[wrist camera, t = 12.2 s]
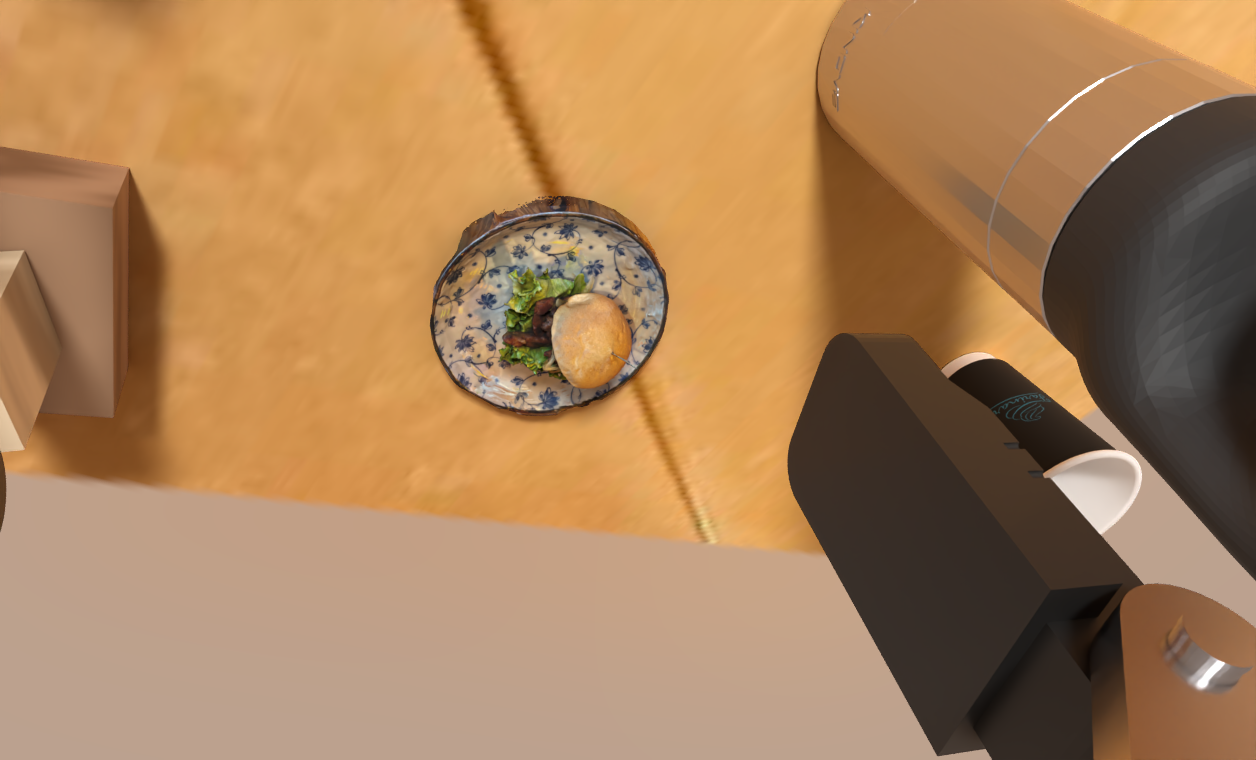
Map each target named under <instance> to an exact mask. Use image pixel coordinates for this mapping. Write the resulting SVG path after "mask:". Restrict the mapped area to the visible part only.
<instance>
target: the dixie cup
mask: <svg viewBox="0 0 1256 760" xmlns="http://www.w3.org/2000/svg"><path fill="white" fill-rule="evenodd" d="M941 371H942V372H943V373H944V375H945V376H946V377H947V378H948V379H949V380H950V381H951V382H953V383H954V384H956V385H957V386H958V387H960V388H961V389H963V390H964V391H966V392H967V393H968V394H970V395H971V396H973V397H974V398H975V399H977V400H978V401H980V402H981V403H983V404H984V405H985V406H987V407H988V408H990V410H991V411H992V412H993V413H994V414H995V415H996V416H997V418H998V419H999V420H1000V421H1001V422H1002V423H1003V424H1004V426H1005V427H1006V428H1007V429H1008V430H1009V431H1010V432H1011V434H1012V435H1013V436H1014V437H1015V438H1016V439H1017V440H1018V442H1019V444H1018V446H1019V449H1026V451H1027V452H1028V453H1029V454H1030V455H1031V456H1032V457H1033V459H1034V460H1035V461H1036V462H1037V463H1038V464H1039V465H1040V467H1041V468H1042V469H1043V470H1044V471H1043V476H1044V478H1051V479H1052V480H1053V481H1054V483H1055V484H1056V485H1057V486H1058V487H1059V488H1060V489H1061V490H1062V492H1063V493H1064V494H1065V495H1066V496H1067V497H1068V498H1069V500H1070V501H1071V502H1072V503H1073V504H1074V505H1075V506H1076V508H1077V509H1078V510H1079V511H1080V512H1081V513H1082V514H1083V516H1084V517H1085V518H1086V519H1087V520H1088V521H1089V522H1090V524H1091V525H1092V526H1093V527H1094V528H1095V529H1096V530H1097V532H1098V533H1099V534H1100V535H1101V534H1103V533H1104V532H1105V531H1107V530H1108V529H1109V528H1110V527H1111V526H1113V525H1114V524H1115V523H1116V522H1117V521H1118V520H1119V519H1120V518H1121V517H1122V516H1123V515H1124V514H1125V512H1126V511H1127V510H1128V509H1129V507H1130V506H1131V504H1132V503H1133V501H1134V500H1135V498H1136V496H1137V494H1138V492H1139V489H1140V485H1141V480H1142V472H1141V468H1140V465H1139V464H1138V462H1137V460H1136V459H1135V458H1134V457H1132V456H1131V455H1129V454H1127V453H1125V452H1122V451H1118V450H1116V449H1115V448H1113V447H1112V446H1111V445H1109V444H1108V443H1107V442H1106V441H1104V440H1103V439H1102V438H1101V437H1099V436H1098V435H1097V434H1096V433H1094V432H1093V431H1092V430H1091V429H1089V428H1088V427H1087V426H1086V425H1084V424H1083V423H1082V422H1081V421H1079V420H1078V419H1077V418H1076V417H1074V416H1073V415H1072V414H1071V413H1069V412H1068V411H1067V410H1066V409H1064V408H1063V407H1062V406H1061V405H1059V404H1058V403H1057V402H1056V401H1054V400H1053V399H1052V398H1051V397H1049V396H1048V395H1047V394H1046V393H1044V392H1043V391H1042V390H1041V389H1039V388H1038V387H1037V386H1036V385H1034V384H1033V383H1032V382H1031V381H1029V380H1028V379H1027V378H1026V377H1024V376H1023V375H1022V374H1021V373H1019V372H1018V371H1017V370H1015V369H1014V368H1013V367H1012V366H1010V365H1009V364H1008V363H1007V362H1005V361H1003V360H1000V359H996V358H995V357H993V356H992V355H990V354H988V353H983V352H975V353H970V354H966V355H963V356H961V357H959V358H957V359H955V360H953V361H952V362H950V363H949V364H947V365H946V366H945V367H944V368H943V369H942V370H941Z"/></svg>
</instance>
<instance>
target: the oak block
mask: <svg viewBox="0 0 1256 760" xmlns="http://www.w3.org/2000/svg"><path fill="white" fill-rule="evenodd" d="M61 351H62V346H61V344H60V341H59V338H58V336H57V333H56V331H55V328H54V326H53V323H52V321H51V318H50V315H49V313H48V310H47V308H46V305H45V303H44V300H43V298H42V295H41V292H40V290H39V287H38V285H37V282H36V280H35V277H34V274H33V272H32V269H31V267H30V264H29V262H28V259H27V257H26V254H25V251H24V250H21V251H3V252H0V451H1V452H8V451H18V450H25V448H26V445H27V442H28V440H29V437H30V434H31V431H32V429H33V426H34V423H35V421H36V418H37V415H38V413H39V410H40V407H41V405H42V402H43V399H44V396H45V394H46V391H47V388H48V386H49V383H50V380H51V378H52V375H53V372H54V370H55V367H56V364H57V361H58V359H59V356H60V353H61Z"/></svg>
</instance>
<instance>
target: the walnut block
mask: <svg viewBox="0 0 1256 760" xmlns="http://www.w3.org/2000/svg"><path fill="white" fill-rule="evenodd" d="M21 250H24V251H25V254H26V257H27V259H28V262H29V264H30V267H31V269H32V272H33V274H34V277H35V280H36V282H37V285H38V287H39V290H40V292H41V295H42V298H43V300H44V303H45V305H46V308H47V310H48V313H49V315H50V318H51V321H52V323H53V326H54V328H55V331H56V333H57V336H58V338H59V341H60V344H61V346H62V351H61V353H60V356H59V359H58V361H57V364H56V367H55V370H54V372H53V375H52V378H51V380H50V383H49V386H48V388H47V391H46V394H45V396H44V399H43V402H42V405H41V407H40V410H39V413H49V414H64V415H78V416H92V417H107V418H114V415H115V411H116V408H117V404H118V401H119V398H120V394H121V391H122V387H123V384H124V381H125V377H126V374H127V370H128V285H129V167H122V166H116V165H110V164H104V163H98V162H92V161H86V160H79V159H73V158H67V157H61V156H55V155H49V154H43V153H36V152H30V151H24V150H18V149H12V148H6V147H0V252H3V251H21Z"/></svg>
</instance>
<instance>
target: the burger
mask: <svg viewBox="0 0 1256 760" xmlns="http://www.w3.org/2000/svg"><path fill="white" fill-rule="evenodd" d="M545 197H546V196H545ZM548 197H549V198H553V200H551V199H545V200H535V201H532V203H529V204H526V205H527V206H528V207H525V205H523V207H524V208H522V206H521V208H516V210H514V211H510V212H509V211H505V212H504V213H503V214H502V213H501V214H500V215H497V214H496V213H495V212H494V210H493V212H491V213H490V214H488V215H487V216H486V217H484V218H479V219H478V220H476V221H477V223H475V221H474V222H473V223H472V224H470V226H469V227H467V228H466V229H465V230H466V231H465V230H464V231H463V234H462V237H461V240H460V243H459V246H458V250H457V252H456V253H455V255H454V256H453V258H452V259H451V260H450V261H449V263H448V264H447V266H446V267H445V268H444V269H443V271H442V272H441V275H440V277H439V278H438V280H437V282H436V284H435V286H434V293H433V309H432V314H431V319H430V328H431V335H432V340H433V344H434V347H435V351H436V353H437V354H438V356H439V359H440V361H441V363H442V364H443V366H444V367H445V369H446V371H447V372H448V374H449V376H450V377H451V379H452V380H453V381H454V382H455V383H456V384H457V385H458V386H459V387H461V388H463V389H464V390H466V391H468V392H470V393H472V394H474V395H475V396H477V397H479V398H481V399H483V400H485V401H486V402H488V403H490V404H492V405H493V406H495V407H497V408H499V409H507V410H510V411H514V412H516V413H517V414H521V415H530V416H547V415H557V414H558V413H560V412H562V411H565V410H567V409H569V408H573V407H576V406H578V407H583V406H587V405H589V403H590V402H592V401H595V400H599V399H600V400H602V399H603V398H605V397H607V396H608V395H610V394H612V393H613V392H614V391H615V390H616V389H618V388H620V387H621V386H622V385H624V384H625V383H626V382H627V381H628V380H629V379H630V378H631V377H632V376H633V375H634V374H636V373H637V372H638V371H639V368H640V367H642V366H643V364H644V363H645V362H646V361H647V360H648V358H649V357H650V356H651V354H652V352H653V350H654V349H655V347H656V346H657V344H658V342H659V341H660V339H661V337H662V334H663V332H664V327H665V323H666V319H667V318H666V316H667V310H668V304H669V295H668V290H667V284H666V273H665V270H664V269H663V268H662V267H661V266H660V264H659V262H658V261H657V260H658V259H657V257H655V254H656V253H655V251H654V249H653V248H651V247H652V246H651V244H650V242H649V241H648V239H647V237H646V236H645V235H644V234H643V233H642V232H641V231H640V230H639V229H638V227H637V226H636V225H635V224H634V223H633V222H632V221H630V220H629V219H627V218H626V217H624V216H623V215H621V214H620V213H618V212H617V211H616V210H614V209H611V208H609V207H606V206H604V205H602V204H599V203H597V202H594V201H590V200H586V199H580V198H575V197H570V196H565V197H564V196H562V197H561V196H557V197H556V198H555V196H554V197H552V196H548ZM558 197H561V199H558ZM538 198H539V199H540V197H538ZM542 198H544V197H542ZM554 198H555V202H554ZM556 199H557V200H556ZM567 199H568V200H567ZM546 200H547V201H546ZM549 201H550V202H549ZM541 202H542V203H541ZM553 202H554V203H553ZM526 203H527V202H526ZM551 203H552V204H551ZM549 204H550V205H549ZM569 204H570V205H569ZM518 205H519V204H518ZM552 205H553V206H552ZM638 235H639V236H640V237H638ZM652 250H653V251H652Z"/></svg>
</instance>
